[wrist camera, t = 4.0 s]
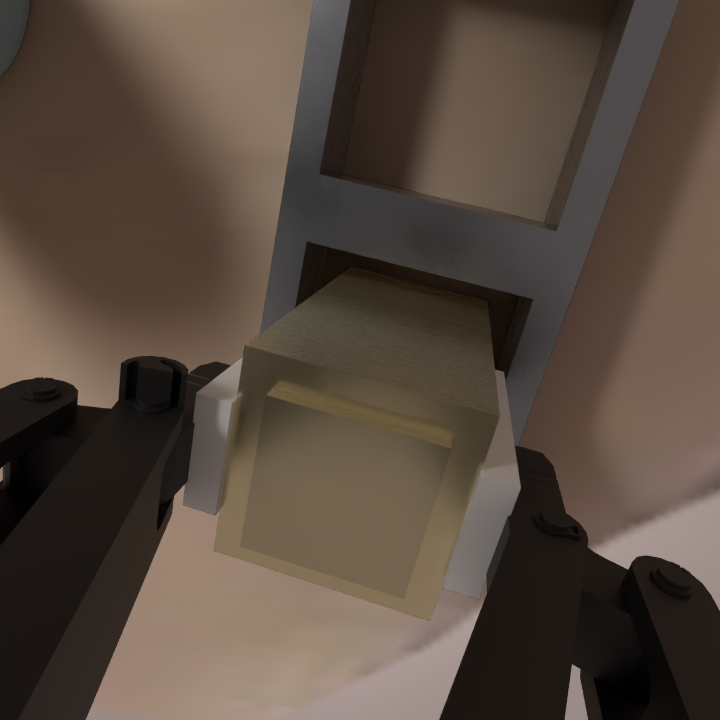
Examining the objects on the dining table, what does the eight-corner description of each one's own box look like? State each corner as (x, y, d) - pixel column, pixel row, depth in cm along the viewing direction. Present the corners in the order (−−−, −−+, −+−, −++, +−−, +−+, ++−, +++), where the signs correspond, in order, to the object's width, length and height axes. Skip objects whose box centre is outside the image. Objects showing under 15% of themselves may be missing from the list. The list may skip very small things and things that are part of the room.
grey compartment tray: (450, -599, 13) (443, -828, 10) (853, -569, 12) (977, -813, 9) (267, 431, 23) (236, 469, 20) (481, 494, 22) (482, 545, 19)
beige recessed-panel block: (351, 266, 20) (235, 351, 10) (487, 301, 19) (501, 425, 10) (325, 390, 22) (205, 562, 12) (449, 425, 21) (428, 635, 11)
